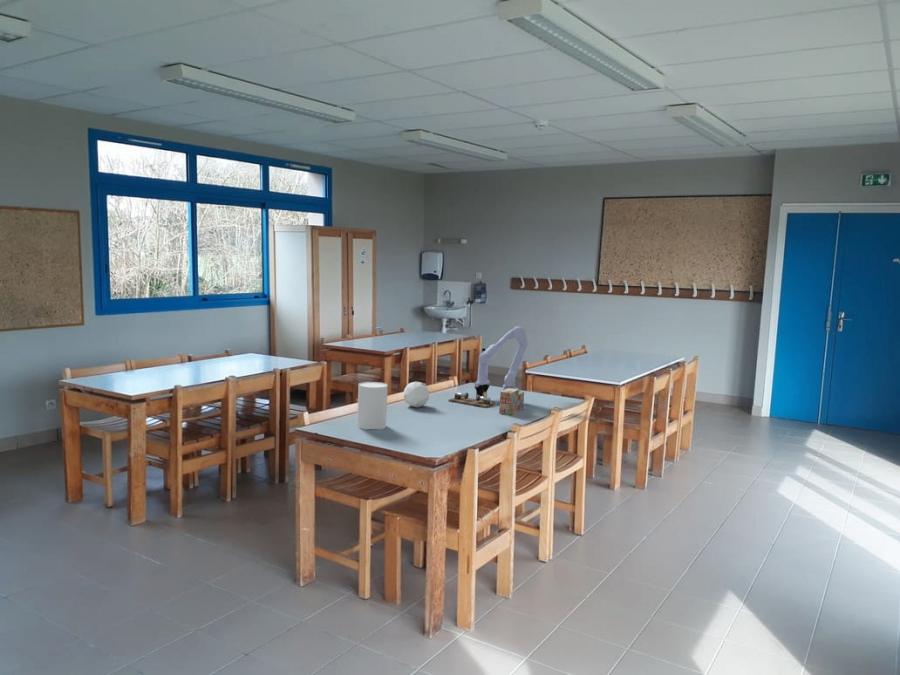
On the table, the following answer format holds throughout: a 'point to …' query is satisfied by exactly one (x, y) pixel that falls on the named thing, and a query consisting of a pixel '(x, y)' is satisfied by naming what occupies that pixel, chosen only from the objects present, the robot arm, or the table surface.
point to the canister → (372, 405)
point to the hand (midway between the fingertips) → (481, 397)
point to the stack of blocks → (511, 401)
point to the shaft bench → (472, 402)
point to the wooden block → (483, 394)
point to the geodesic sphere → (416, 394)
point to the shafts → (476, 397)
